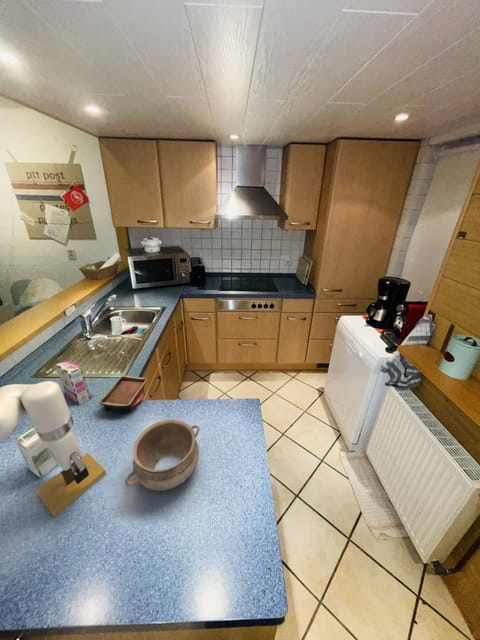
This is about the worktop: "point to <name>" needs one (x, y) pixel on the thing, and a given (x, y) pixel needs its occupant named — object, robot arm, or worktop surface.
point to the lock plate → (69, 487)
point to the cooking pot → (164, 454)
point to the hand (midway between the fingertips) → (74, 469)
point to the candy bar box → (73, 381)
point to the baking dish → (124, 394)
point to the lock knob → (68, 475)
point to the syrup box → (35, 453)
